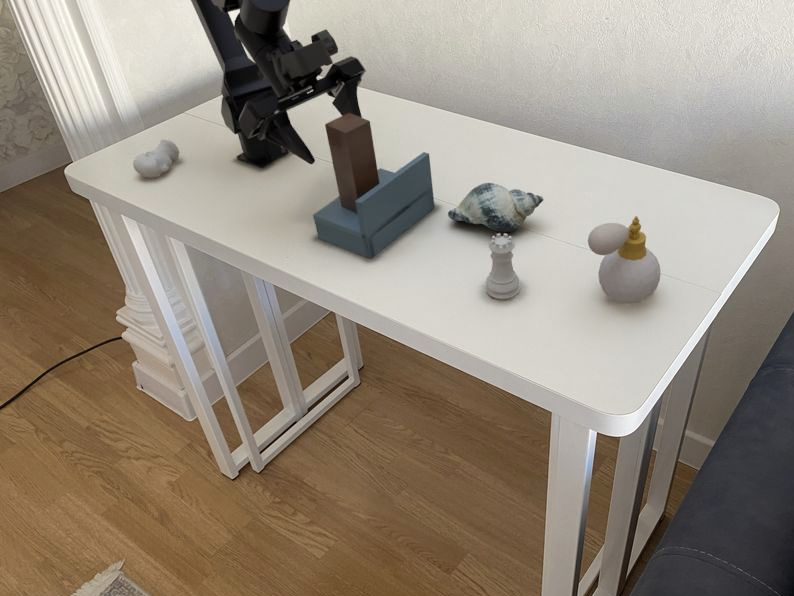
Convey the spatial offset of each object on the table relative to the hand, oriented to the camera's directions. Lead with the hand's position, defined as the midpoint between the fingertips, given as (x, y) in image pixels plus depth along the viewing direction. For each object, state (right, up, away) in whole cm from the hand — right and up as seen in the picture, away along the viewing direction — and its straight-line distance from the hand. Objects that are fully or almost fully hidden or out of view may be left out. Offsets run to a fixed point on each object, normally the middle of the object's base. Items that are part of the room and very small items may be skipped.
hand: (339, 149), depth 99 cm
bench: (+4, -9, +7) cm, 12 cm away
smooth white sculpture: (-34, +3, +23) cm, 41 cm away
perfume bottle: (+37, -21, -8) cm, 44 cm away
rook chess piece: (+22, -20, -6) cm, 30 cm away
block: (+3, -7, +4) cm, 8 cm away
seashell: (+22, -10, +5) cm, 24 cm away
